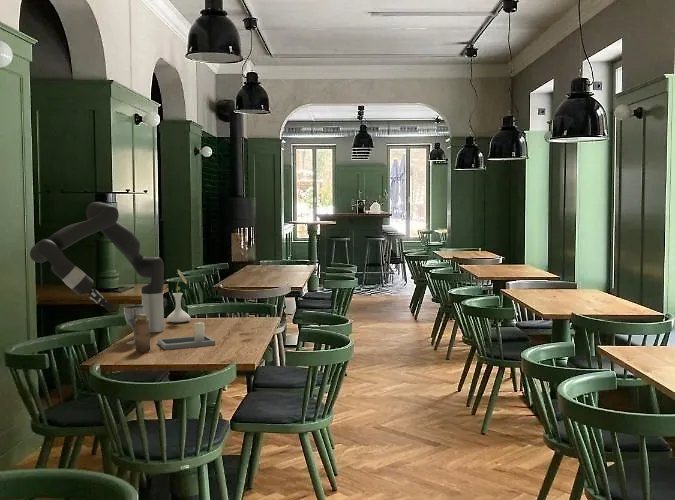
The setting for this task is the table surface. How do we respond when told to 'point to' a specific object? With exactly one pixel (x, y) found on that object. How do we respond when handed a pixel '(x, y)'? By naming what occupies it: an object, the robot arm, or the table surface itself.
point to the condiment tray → (184, 342)
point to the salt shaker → (199, 331)
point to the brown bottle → (142, 333)
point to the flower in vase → (178, 306)
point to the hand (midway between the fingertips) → (110, 308)
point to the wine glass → (133, 316)
